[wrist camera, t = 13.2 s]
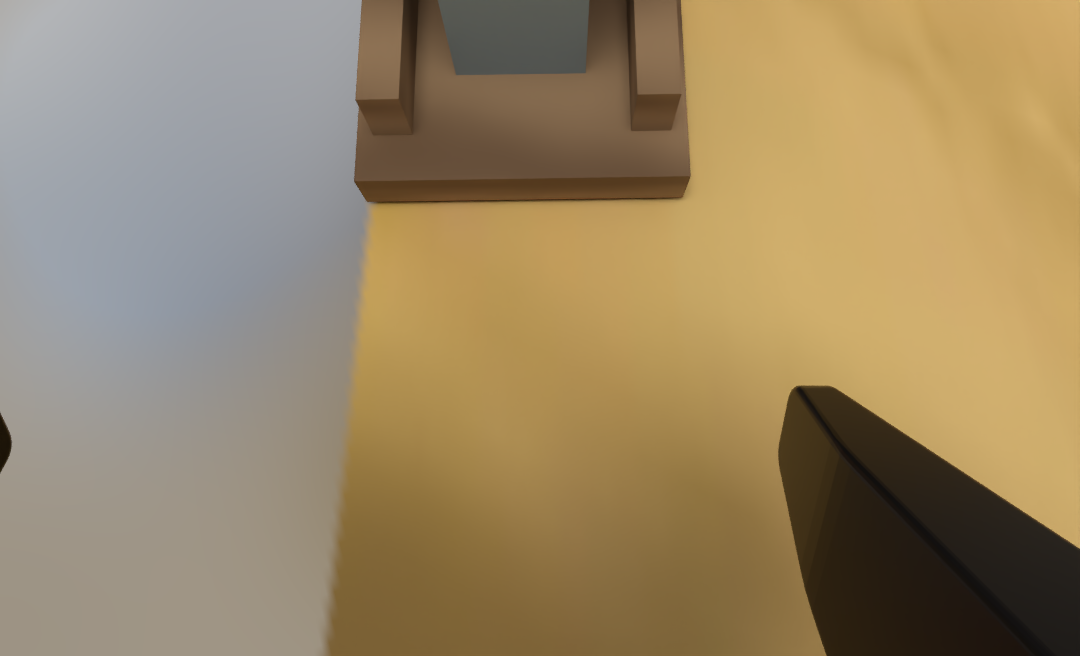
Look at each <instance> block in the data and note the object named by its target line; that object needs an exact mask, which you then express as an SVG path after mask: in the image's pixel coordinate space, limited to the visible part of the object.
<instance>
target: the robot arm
mask: <svg viewBox="0 0 1080 656" xmlns="http://www.w3.org/2000/svg"><path fill="white" fill-rule="evenodd" d="M11 446H12V440H11V435H10V432H9V430H8V428H7V426H6V424H5V422H4V420H3V417H2V415H1V413H0V473H1V471H2V469H3V467H4V465H5V463H6V462H7V460H8V457H9V455H10V452H11ZM778 457H779V467H780V472H781V477H782V482H783V487H784V492H785V496H786V501H787V506H788V511H789V516H790V521H791V526H792V530H793V535H794V540H795V545H796V550H797V555H798V560H799V564H800V569H801V574H802V578H803V582H804V587H805V591H806V594H807V597H808V601H809V604H810V607H811V610H812V614H813V617H814V620H815V623H816V626H817V629H818V632H819V635H820V638H821V641H822V644H823V647H824V649H825V652H826V655H827V656H1080V549H1079V548H1078V547H1076V546H1075V545H1073V544H1072V543H1070V542H1069V541H1067V540H1066V539H1064V538H1063V537H1061V536H1060V535H1058V534H1057V533H1055V532H1054V531H1052V530H1050V529H1049V528H1047V527H1046V526H1044V525H1043V524H1041V523H1040V522H1038V521H1037V520H1035V519H1034V518H1032V517H1031V516H1029V515H1028V514H1026V513H1025V512H1023V511H1022V510H1020V509H1019V508H1017V507H1015V506H1014V505H1012V504H1011V503H1009V502H1008V501H1006V500H1005V499H1003V498H1002V497H1000V496H999V495H997V494H996V493H994V492H993V491H991V490H990V489H988V488H987V487H985V486H984V485H982V484H980V483H979V482H977V481H976V480H974V479H973V478H971V477H970V476H968V475H967V474H965V473H964V472H962V471H961V470H959V469H958V468H956V467H955V466H953V465H952V464H950V463H949V462H947V461H945V460H944V459H942V458H941V457H939V456H938V455H936V454H935V453H933V452H932V451H930V450H929V449H927V448H926V447H924V446H923V445H921V444H920V443H918V442H917V441H915V440H914V439H912V438H910V437H909V436H907V435H906V434H904V433H903V432H901V431H900V430H898V429H897V428H895V427H894V426H892V425H891V424H889V423H888V422H886V421H885V420H883V419H882V418H880V417H879V416H877V415H875V414H874V413H872V412H871V411H869V410H868V409H866V408H865V407H863V406H862V405H860V404H859V403H857V402H856V401H854V400H853V399H851V398H850V397H848V396H847V395H845V394H844V393H842V392H840V391H839V390H837V389H836V388H834V387H831V386H796V387H795V388H793V389H792V391H791V393H790V395H789V398H788V402H787V407H786V412H785V417H784V422H783V427H782V432H781V437H780V442H779V451H778Z"/></svg>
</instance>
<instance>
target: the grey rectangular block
mask: <svg viewBox="0 0 1080 656" xmlns="http://www.w3.org/2000/svg"><path fill="white" fill-rule="evenodd" d="M438 3H439V7H440V11H441V15H442V20H443V24H444V28H445V32H446V36H447V40H448V44H449V48H450V52H451V57H452V61H453V65H454V69H455V73H456V75H502V74H571V73H586V55H587V35H588V16H589V0H438Z"/></svg>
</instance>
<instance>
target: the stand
mask: <svg viewBox="0 0 1080 656" xmlns="http://www.w3.org/2000/svg"><path fill="white" fill-rule="evenodd" d="M356 102H357V103H358V106H359V113H358V130H357V144H356V145H357V146H356V161H355V176H354V177H355V178H354V182H355V183H356V185H357V187H358V188H359V190H360V191H361V193H362V195H363V196H364V198H365V199H366V201H367V202H386V201H455V200H525V199H594V198H663V197H683V195H684V192H685V189H686V187H687V184H688V181H689V179H690V158H689V141H688V123H687V105H686V87H685V70H684V52H683V34H682V17H681V0H589V16H588V35H587V55H586V73H571V74H502V75H456V73H455V69H454V65H453V61H452V57H451V52H450V48H449V44H448V40H447V36H446V32H445V28H444V24H443V20H442V15H441V11H440V7H439V3H438V0H362V7H361V23H360V39H359V54H358V69H357V84H356Z"/></svg>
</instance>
